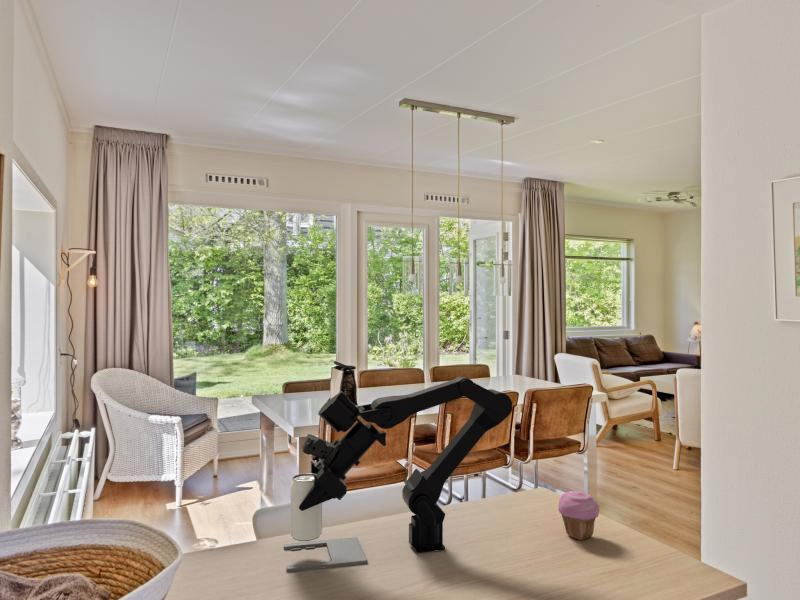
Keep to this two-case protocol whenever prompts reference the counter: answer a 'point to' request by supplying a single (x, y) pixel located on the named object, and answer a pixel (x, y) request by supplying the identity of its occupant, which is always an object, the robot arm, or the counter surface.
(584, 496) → the cupcake
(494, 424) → the robot arm
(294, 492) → the can
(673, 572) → the counter surface
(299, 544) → the board
